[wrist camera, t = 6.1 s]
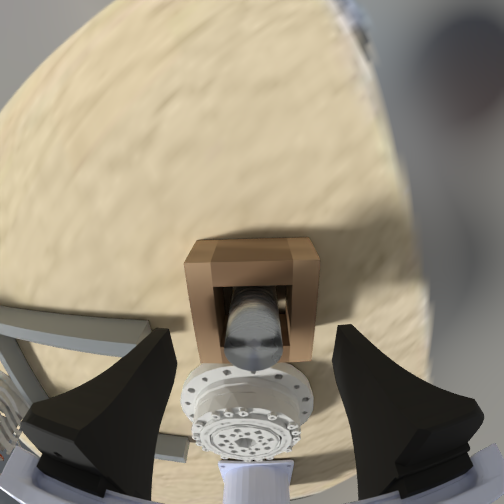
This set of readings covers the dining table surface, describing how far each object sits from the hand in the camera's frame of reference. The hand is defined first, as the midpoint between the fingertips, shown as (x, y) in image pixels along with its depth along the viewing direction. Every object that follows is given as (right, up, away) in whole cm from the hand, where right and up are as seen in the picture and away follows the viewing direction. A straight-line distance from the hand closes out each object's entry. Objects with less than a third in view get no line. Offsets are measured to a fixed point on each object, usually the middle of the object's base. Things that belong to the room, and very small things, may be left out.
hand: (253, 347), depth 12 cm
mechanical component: (0, -7, +9) cm, 11 cm away
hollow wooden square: (0, +2, +5) cm, 5 cm away
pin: (0, +2, +5) cm, 5 cm away
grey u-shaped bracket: (-15, -8, +9) cm, 19 cm away
